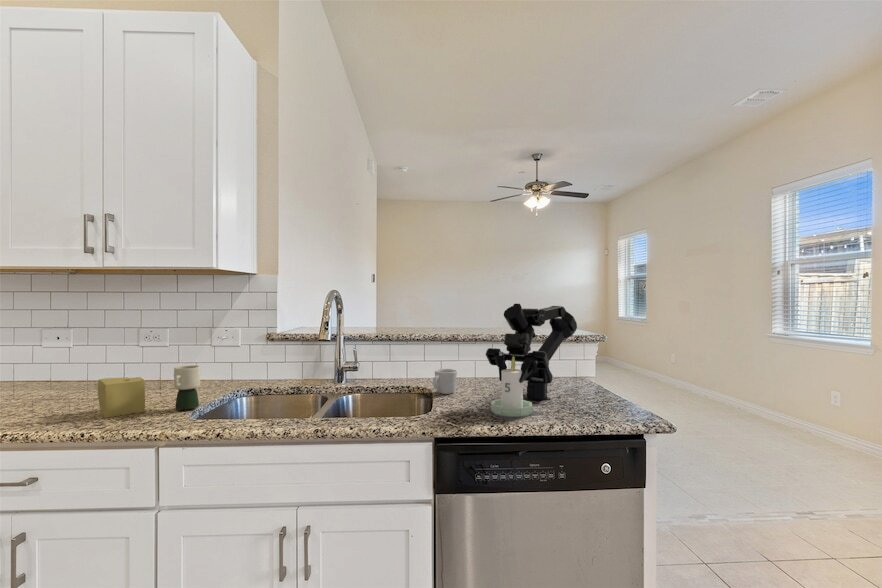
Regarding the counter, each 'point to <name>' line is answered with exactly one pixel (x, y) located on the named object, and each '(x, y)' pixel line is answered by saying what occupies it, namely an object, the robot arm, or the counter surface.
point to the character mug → (187, 386)
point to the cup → (445, 380)
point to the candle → (512, 387)
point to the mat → (512, 417)
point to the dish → (511, 409)
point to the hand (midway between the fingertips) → (510, 381)
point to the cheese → (121, 396)
